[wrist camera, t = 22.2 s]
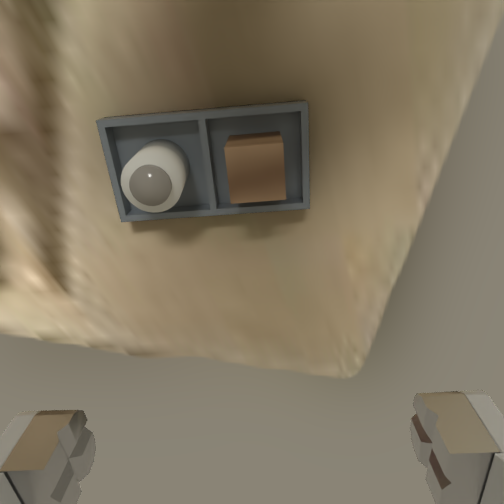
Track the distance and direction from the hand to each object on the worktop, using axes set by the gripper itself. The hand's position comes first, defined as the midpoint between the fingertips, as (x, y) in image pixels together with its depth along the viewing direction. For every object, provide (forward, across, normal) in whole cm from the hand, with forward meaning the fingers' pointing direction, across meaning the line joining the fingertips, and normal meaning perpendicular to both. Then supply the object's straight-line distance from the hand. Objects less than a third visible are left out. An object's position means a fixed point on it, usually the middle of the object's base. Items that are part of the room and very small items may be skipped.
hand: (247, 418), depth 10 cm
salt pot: (+28, +9, 0) cm, 30 cm away
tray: (+29, +4, 0) cm, 29 cm away
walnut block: (+28, 0, 0) cm, 29 cm away
